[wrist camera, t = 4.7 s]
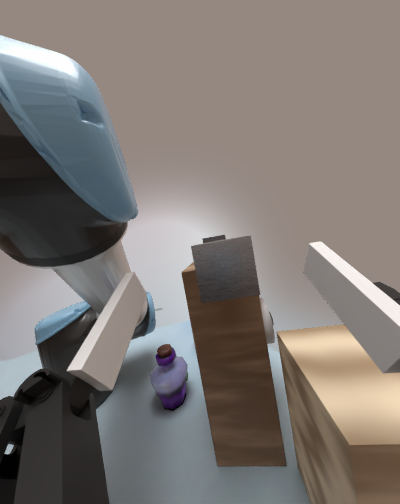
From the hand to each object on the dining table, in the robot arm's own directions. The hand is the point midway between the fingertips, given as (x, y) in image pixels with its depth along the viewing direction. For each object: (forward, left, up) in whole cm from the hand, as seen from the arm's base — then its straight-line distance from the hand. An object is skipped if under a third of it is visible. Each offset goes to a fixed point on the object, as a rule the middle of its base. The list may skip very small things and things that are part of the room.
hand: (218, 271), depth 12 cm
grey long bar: (-10, 0, -1) cm, 10 cm away
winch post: (-16, +1, -31) cm, 35 cm away
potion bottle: (-20, -15, -31) cm, 40 cm away
